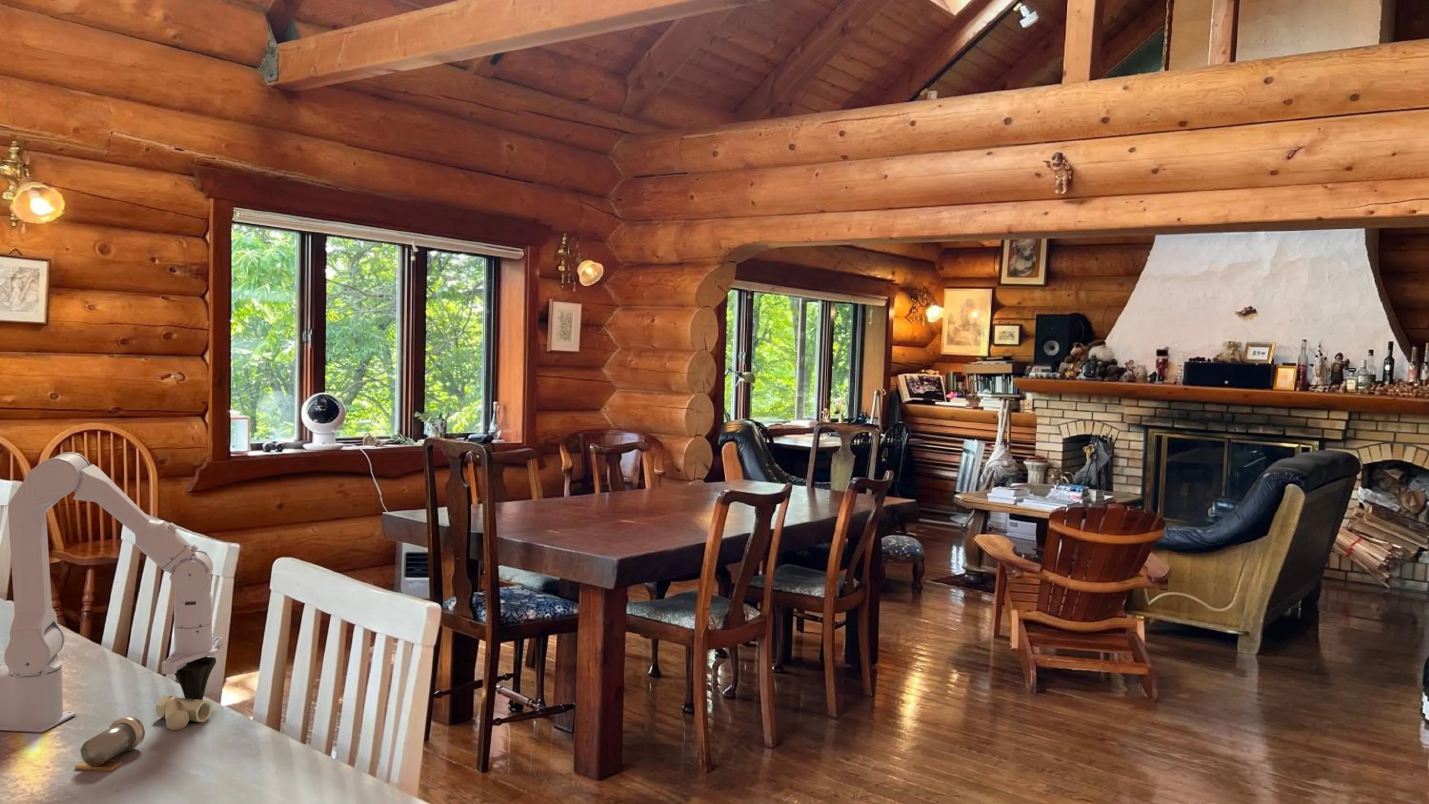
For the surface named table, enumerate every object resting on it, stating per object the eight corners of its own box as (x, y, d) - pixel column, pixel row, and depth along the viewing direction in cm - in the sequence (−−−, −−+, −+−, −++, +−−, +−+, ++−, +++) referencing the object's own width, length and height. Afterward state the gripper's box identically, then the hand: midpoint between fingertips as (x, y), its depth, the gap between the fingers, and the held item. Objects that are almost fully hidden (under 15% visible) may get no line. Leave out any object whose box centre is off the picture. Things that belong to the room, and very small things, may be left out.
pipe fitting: (181, 736, 164) (212, 718, 170) (180, 713, 163) (210, 695, 170) (140, 730, 166) (172, 713, 172) (138, 707, 165) (170, 690, 172)
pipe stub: (111, 771, 149) (110, 737, 149) (74, 769, 149) (74, 735, 149) (147, 748, 157) (146, 716, 157) (112, 746, 158) (111, 715, 157)
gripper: (190, 637, 166) (191, 719, 167) (239, 613, 180) (239, 688, 181) (148, 635, 166) (150, 717, 167) (200, 611, 181) (201, 687, 182)
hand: (194, 702), depth 174 cm, fingers closed
